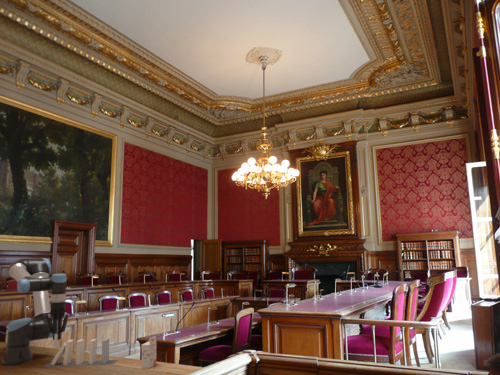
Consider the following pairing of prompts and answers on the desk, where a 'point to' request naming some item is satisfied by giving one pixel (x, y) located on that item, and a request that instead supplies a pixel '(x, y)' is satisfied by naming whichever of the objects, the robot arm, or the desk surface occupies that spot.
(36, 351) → the desk surface
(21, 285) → the robot arm
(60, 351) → the domino
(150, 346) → the ink cartridge box
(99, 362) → the runway mat
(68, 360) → the domino
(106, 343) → the slate domino
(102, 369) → the desk surface
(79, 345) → the domino
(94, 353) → the domino
